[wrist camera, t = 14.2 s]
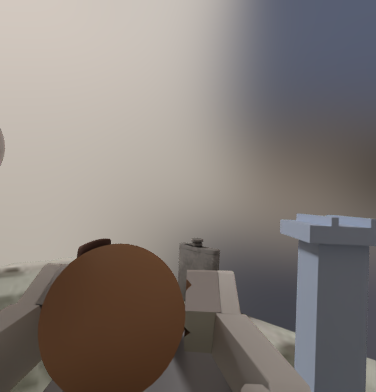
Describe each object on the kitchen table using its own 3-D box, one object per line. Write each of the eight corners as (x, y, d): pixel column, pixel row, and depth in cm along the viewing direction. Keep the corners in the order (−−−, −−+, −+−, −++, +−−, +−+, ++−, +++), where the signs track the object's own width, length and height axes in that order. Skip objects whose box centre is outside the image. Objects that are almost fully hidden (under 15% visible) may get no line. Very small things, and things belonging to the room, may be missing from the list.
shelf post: (410, 475, 28) (416, 221, 29) (297, 468, 28) (305, 216, 29) (345, 393, 40) (350, 215, 41) (266, 389, 40) (272, 212, 41)
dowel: (183, 405, 5) (184, 244, 6) (19, 403, 5) (55, 243, 6) (187, 335, 25) (187, 301, 26) (155, 335, 25) (157, 300, 26)
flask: (210, 313, 67) (213, 242, 68) (173, 297, 78) (175, 235, 78) (219, 309, 70) (222, 241, 70) (182, 294, 80) (184, 235, 81)
